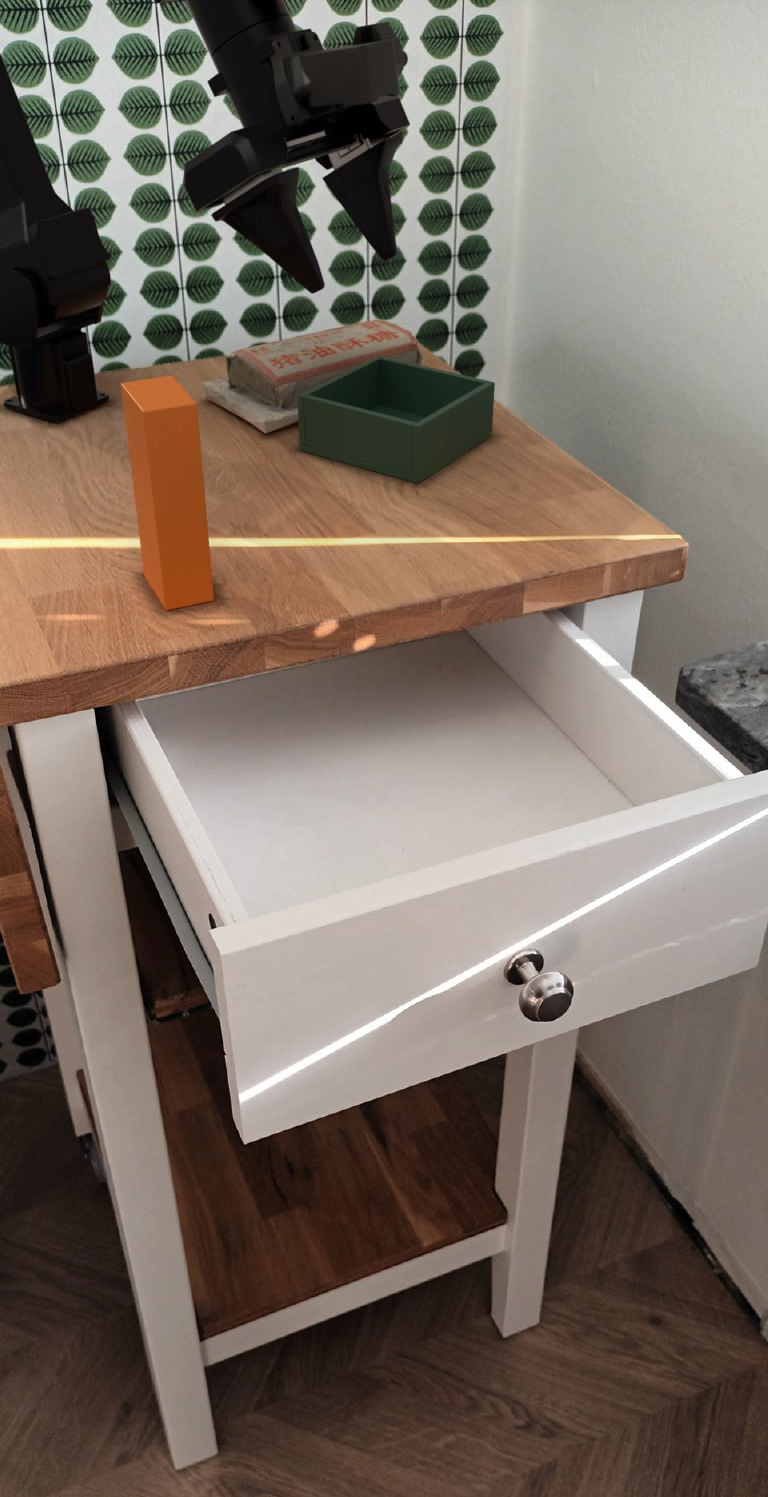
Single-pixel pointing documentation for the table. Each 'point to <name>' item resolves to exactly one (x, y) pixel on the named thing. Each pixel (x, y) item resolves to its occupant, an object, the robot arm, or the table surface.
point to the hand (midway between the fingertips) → (356, 274)
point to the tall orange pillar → (169, 490)
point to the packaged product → (302, 369)
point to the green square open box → (396, 417)
